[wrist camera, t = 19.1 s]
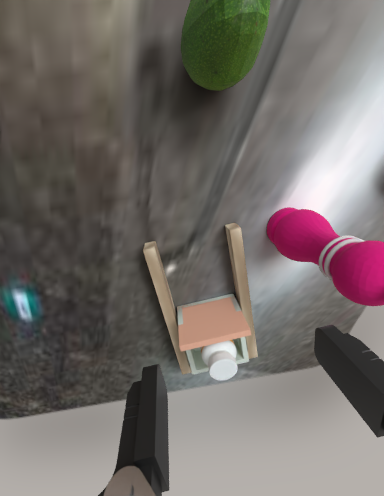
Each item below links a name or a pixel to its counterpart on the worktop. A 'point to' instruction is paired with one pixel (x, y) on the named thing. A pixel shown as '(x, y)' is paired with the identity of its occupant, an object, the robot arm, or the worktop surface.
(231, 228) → the bay
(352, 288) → the pepper mill
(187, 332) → the drawer
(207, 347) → the supplement bottle
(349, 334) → the robot arm
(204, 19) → the avocado
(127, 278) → the worktop surface
